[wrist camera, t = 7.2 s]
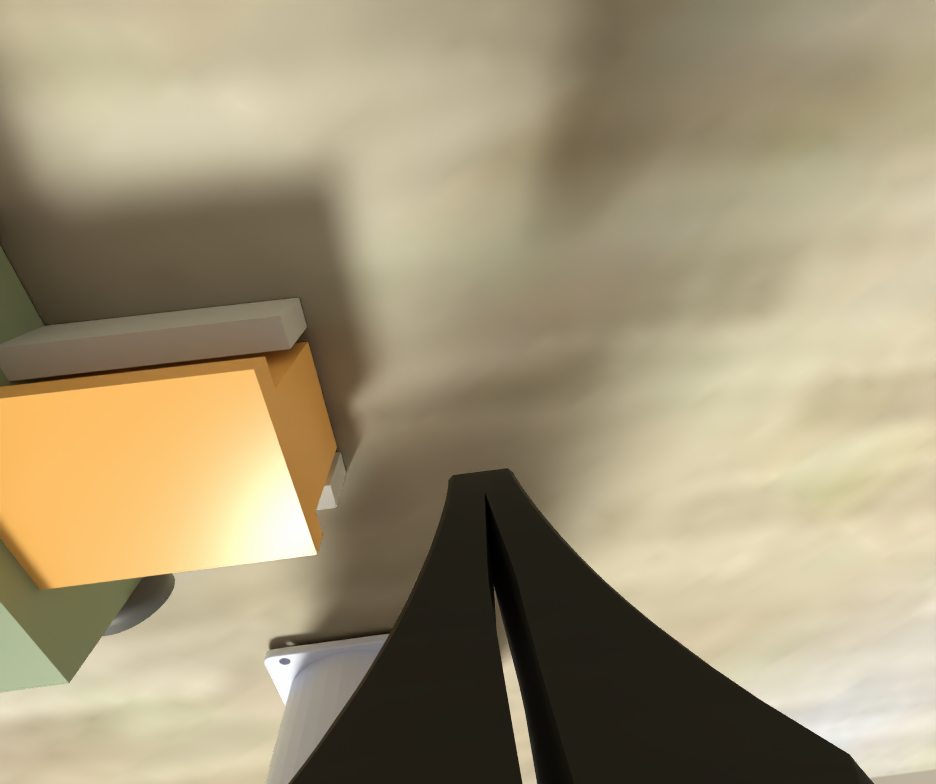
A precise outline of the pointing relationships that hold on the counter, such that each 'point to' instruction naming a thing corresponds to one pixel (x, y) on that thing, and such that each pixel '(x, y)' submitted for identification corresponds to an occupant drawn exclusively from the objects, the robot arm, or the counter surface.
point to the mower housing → (96, 349)
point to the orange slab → (164, 467)
